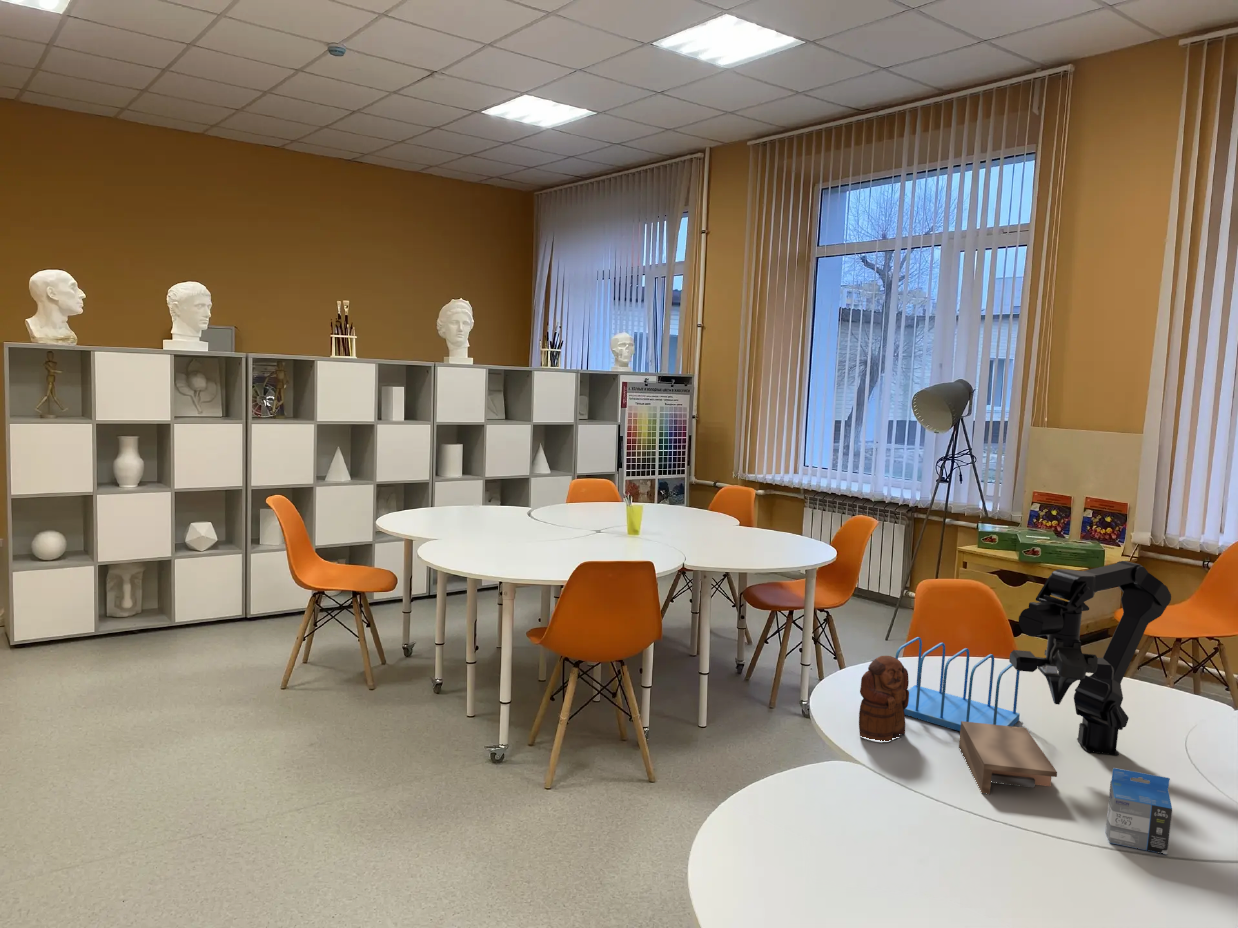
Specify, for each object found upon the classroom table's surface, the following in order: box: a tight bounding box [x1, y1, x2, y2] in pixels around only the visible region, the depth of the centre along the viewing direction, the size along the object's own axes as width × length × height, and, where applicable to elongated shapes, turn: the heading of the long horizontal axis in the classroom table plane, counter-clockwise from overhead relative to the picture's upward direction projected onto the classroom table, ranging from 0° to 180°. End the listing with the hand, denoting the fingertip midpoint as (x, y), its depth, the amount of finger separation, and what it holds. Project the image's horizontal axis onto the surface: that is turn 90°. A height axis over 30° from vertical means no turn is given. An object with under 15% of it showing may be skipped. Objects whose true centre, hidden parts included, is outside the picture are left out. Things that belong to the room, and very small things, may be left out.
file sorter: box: [894, 636, 1021, 732], centre depth 198 cm, size 25×17×15 cm
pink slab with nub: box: [992, 770, 1052, 787], centre depth 170 cm, size 12×7×4 cm, turn 80°
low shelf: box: [958, 721, 1058, 795], centre depth 171 cm, size 13×20×6 cm, turn 170°
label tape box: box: [1105, 767, 1173, 855], centre depth 146 cm, size 9×4×12 cm, turn 68°
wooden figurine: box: [858, 655, 910, 741], centre depth 185 cm, size 12×6×18 cm, turn 125°
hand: (1056, 703), depth 177 cm, fingers closed
